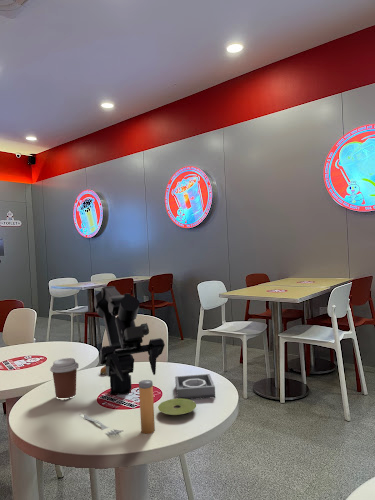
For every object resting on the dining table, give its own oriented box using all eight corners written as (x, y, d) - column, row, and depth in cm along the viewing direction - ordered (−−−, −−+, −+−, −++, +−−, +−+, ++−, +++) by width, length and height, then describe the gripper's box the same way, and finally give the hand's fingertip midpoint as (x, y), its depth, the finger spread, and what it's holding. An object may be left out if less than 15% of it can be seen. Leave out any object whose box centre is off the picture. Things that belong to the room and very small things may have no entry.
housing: (177, 400, 120) (177, 389, 120) (175, 386, 132) (175, 376, 132) (215, 397, 121) (214, 386, 121) (209, 383, 133) (209, 373, 133)
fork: (80, 410, 117) (79, 404, 117) (125, 436, 100) (124, 429, 100) (70, 414, 115) (69, 408, 115) (114, 441, 98) (114, 434, 98)
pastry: (105, 377, 146) (104, 367, 146) (97, 373, 151) (96, 363, 151) (126, 371, 152) (126, 361, 152) (118, 367, 157) (117, 358, 157)
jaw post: (141, 434, 100) (138, 385, 100) (141, 428, 103) (139, 380, 103) (154, 433, 100) (152, 384, 100) (154, 426, 104) (152, 379, 103)
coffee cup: (53, 404, 122) (51, 367, 122) (50, 394, 130) (48, 359, 130) (82, 398, 126) (80, 362, 126) (77, 389, 134) (76, 355, 134)
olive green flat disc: (154, 407, 116) (154, 401, 116) (190, 401, 119) (190, 395, 119) (162, 424, 105) (162, 417, 105) (201, 417, 108) (201, 410, 108)
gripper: (99, 319, 108) (109, 368, 98) (161, 311, 116) (176, 356, 106) (95, 340, 116) (104, 388, 106) (154, 332, 123) (167, 376, 113)
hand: (139, 377), depth 107 cm, fingers open, 9 cm apart
